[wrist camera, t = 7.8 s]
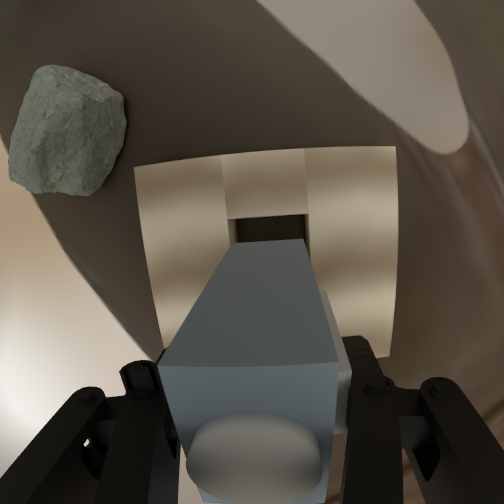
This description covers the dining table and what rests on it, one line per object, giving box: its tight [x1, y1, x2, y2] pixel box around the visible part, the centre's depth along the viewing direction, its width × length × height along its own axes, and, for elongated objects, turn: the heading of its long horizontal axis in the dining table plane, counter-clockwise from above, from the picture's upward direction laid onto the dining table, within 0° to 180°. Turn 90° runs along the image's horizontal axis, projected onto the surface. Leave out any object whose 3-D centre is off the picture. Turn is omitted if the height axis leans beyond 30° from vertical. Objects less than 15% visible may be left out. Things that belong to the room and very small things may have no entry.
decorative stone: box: [8, 64, 127, 196], centre depth 22 cm, size 13×11×10 cm
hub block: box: [134, 146, 398, 358], centre depth 24 cm, size 16×18×4 cm
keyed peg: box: [157, 239, 339, 504], centre depth 13 cm, size 4×6×13 cm, turn 5°
